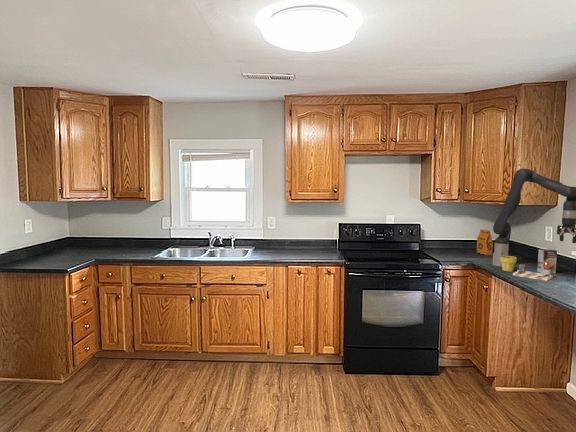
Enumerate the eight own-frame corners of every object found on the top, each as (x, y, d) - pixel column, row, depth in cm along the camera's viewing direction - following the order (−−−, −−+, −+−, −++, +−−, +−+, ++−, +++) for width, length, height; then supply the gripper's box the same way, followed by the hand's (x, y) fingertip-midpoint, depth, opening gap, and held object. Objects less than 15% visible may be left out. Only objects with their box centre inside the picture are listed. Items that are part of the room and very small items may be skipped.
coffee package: (484, 255, 337) (485, 230, 336) (474, 253, 349) (475, 229, 348) (494, 255, 339) (495, 230, 337) (484, 253, 351) (485, 228, 350)
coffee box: (543, 273, 268) (544, 250, 267) (536, 271, 275) (538, 249, 274) (556, 273, 269) (557, 250, 267) (549, 271, 275) (550, 249, 274)
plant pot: (516, 272, 270) (517, 258, 270) (499, 271, 275) (500, 257, 275) (515, 270, 279) (516, 256, 279) (499, 268, 284) (500, 255, 284)
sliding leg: (539, 276, 252) (540, 262, 252) (543, 274, 257) (544, 261, 257) (546, 277, 250) (547, 263, 249) (549, 275, 255) (550, 261, 254)
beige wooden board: (512, 275, 262) (513, 265, 262) (519, 272, 270) (519, 263, 270) (547, 280, 247) (547, 270, 247) (552, 278, 255) (553, 268, 255)
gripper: (554, 216, 258) (553, 240, 259) (575, 218, 244) (573, 243, 245) (563, 216, 260) (562, 240, 261) (584, 218, 246) (583, 243, 247)
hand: (567, 242), depth 253 cm, fingers open, 8 cm apart
